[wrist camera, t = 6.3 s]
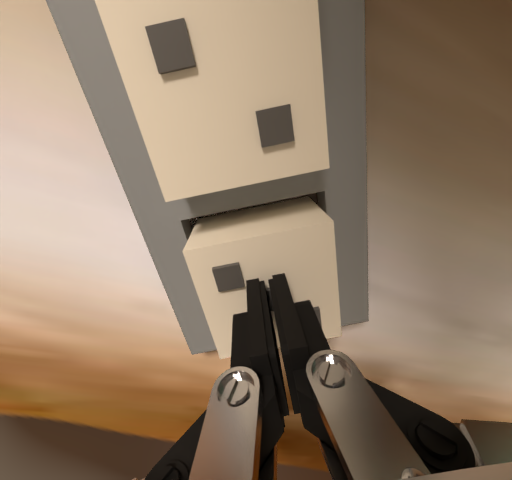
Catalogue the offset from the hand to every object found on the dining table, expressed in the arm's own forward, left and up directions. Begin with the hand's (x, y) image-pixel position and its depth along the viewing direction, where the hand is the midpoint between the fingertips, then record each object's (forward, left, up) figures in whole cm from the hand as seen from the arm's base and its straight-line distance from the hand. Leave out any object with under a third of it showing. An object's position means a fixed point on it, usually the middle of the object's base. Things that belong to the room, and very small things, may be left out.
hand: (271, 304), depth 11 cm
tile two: (-8, 0, -4) cm, 9 cm away
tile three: (0, 0, -4) cm, 4 cm away
